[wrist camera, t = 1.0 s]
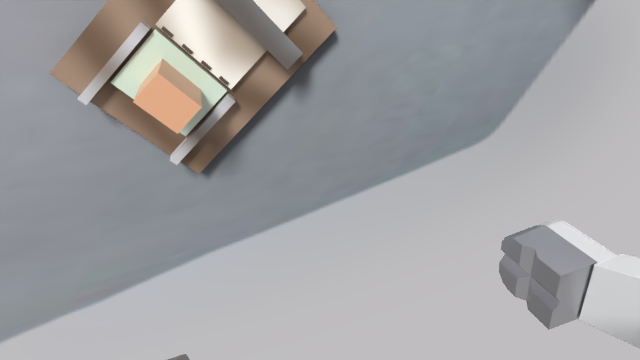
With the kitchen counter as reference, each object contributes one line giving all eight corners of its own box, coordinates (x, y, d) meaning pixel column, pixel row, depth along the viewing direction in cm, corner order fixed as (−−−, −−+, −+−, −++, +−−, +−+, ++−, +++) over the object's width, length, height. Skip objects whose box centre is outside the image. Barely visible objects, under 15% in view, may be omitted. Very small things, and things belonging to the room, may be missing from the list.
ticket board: (208, -122, 30) (209, -133, 26) (332, 25, 37) (346, 31, 34) (55, 69, 33) (38, 82, 29) (198, 167, 41) (199, 186, 37)
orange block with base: (155, 28, 32) (149, 40, 27) (226, 88, 36) (231, 108, 31) (111, 80, 33) (98, 100, 28) (185, 134, 37) (184, 159, 32)
